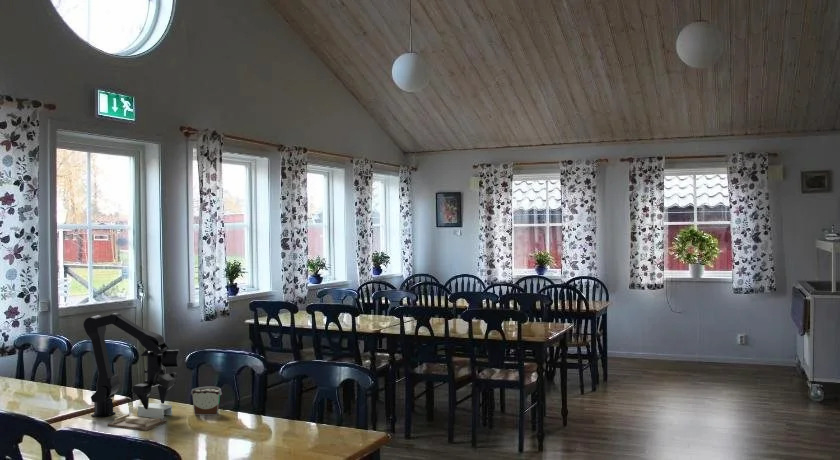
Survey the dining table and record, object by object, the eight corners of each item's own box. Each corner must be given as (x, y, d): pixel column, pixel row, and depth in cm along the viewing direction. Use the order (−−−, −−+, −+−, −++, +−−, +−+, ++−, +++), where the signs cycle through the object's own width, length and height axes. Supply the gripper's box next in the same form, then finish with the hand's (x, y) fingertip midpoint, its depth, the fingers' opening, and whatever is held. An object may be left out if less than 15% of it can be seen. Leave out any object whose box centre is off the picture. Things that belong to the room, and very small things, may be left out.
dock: (107, 426, 257) (107, 419, 257) (128, 418, 267) (128, 412, 267) (146, 430, 251) (146, 424, 251) (166, 422, 261) (166, 416, 261)
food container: (226, 411, 277) (226, 386, 277) (220, 415, 271) (220, 390, 271) (197, 410, 278) (197, 385, 278) (190, 414, 272) (190, 389, 272)
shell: (137, 416, 271) (137, 406, 270) (147, 412, 276) (147, 402, 276) (162, 419, 267) (162, 408, 267) (172, 415, 272) (172, 405, 272)
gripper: (154, 373, 260) (154, 414, 260) (186, 363, 277) (187, 402, 277) (131, 371, 263) (131, 411, 263) (164, 362, 281) (164, 400, 281)
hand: (154, 406), depth 271 cm, fingers open, 9 cm apart
